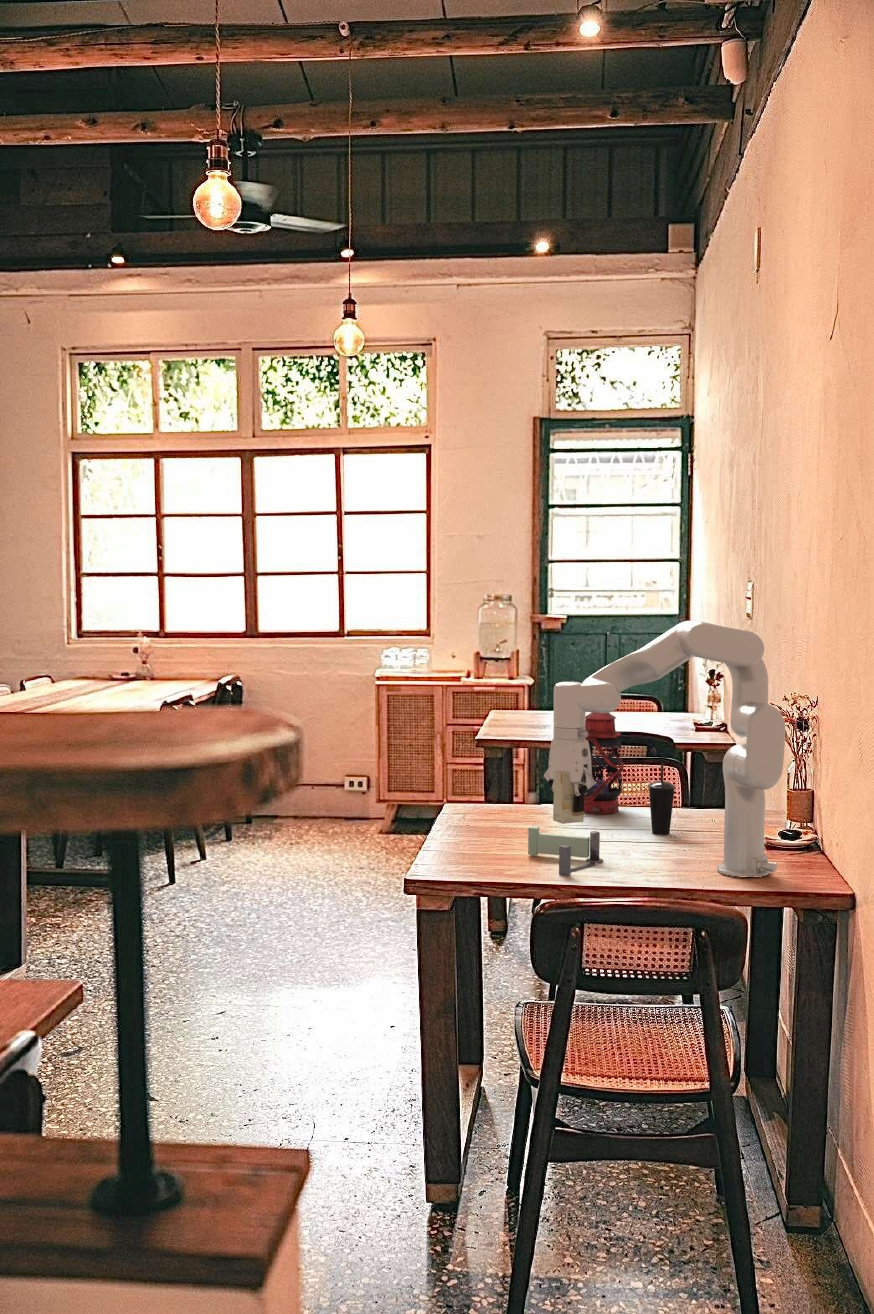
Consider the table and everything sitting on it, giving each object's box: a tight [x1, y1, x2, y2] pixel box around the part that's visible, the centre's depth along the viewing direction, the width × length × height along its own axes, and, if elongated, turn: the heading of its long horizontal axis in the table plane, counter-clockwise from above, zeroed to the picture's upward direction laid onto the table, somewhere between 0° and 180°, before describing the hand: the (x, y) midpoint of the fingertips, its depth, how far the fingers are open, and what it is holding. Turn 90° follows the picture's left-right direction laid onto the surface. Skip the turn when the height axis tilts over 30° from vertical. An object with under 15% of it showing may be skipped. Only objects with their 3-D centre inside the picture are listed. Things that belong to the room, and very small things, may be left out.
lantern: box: [584, 664, 625, 816], centre depth 372 cm, size 16×15×45 cm
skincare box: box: [552, 771, 585, 825], centre depth 289 cm, size 6×4×12 cm
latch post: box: [558, 845, 596, 877], centre depth 299 cm, size 3×14×7 cm, turn 134°
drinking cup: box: [647, 762, 677, 836], centre depth 342 cm, size 8×8×20 cm
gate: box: [527, 825, 590, 859], centre depth 312 cm, size 16×2×7 cm, turn 69°
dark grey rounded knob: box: [585, 830, 604, 864], centre depth 308 cm, size 4×4×8 cm
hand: (568, 809), depth 289 cm, fingers closed on skincare box, 5 cm apart
